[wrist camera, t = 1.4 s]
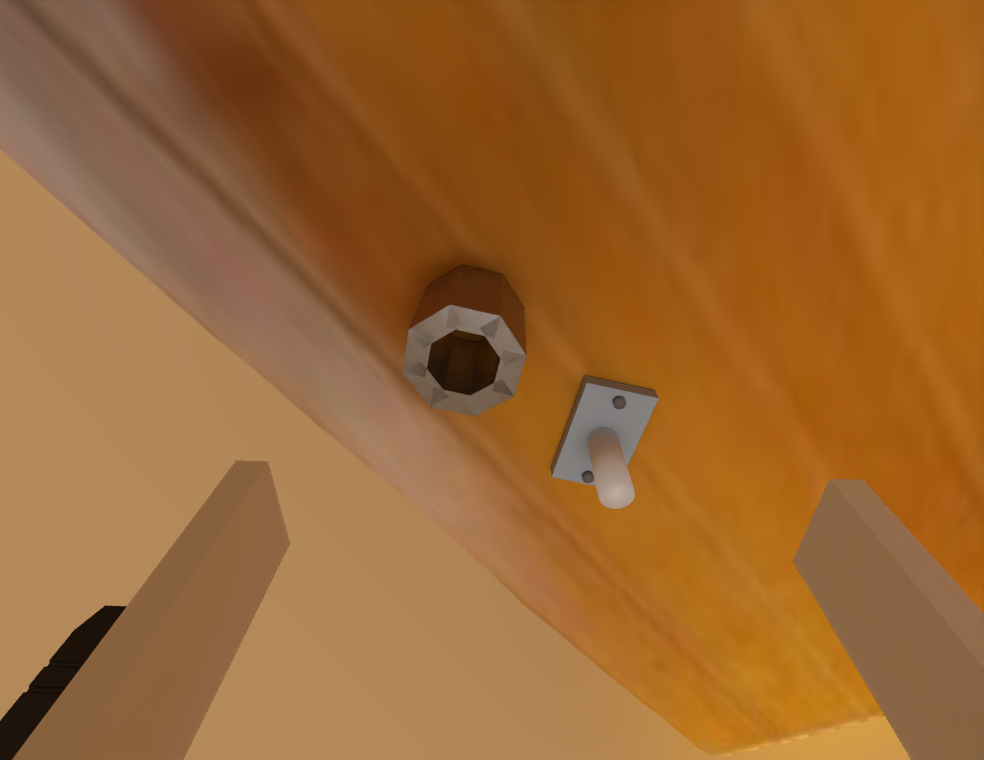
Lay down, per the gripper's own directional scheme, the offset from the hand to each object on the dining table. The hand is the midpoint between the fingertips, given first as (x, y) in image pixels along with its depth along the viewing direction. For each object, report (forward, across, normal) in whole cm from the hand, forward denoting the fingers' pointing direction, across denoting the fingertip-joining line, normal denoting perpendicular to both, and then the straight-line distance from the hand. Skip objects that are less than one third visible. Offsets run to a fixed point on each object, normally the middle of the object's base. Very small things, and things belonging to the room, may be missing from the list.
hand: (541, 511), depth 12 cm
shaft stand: (+27, +7, -17) cm, 32 cm away
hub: (+27, -4, -6) cm, 28 cm away
